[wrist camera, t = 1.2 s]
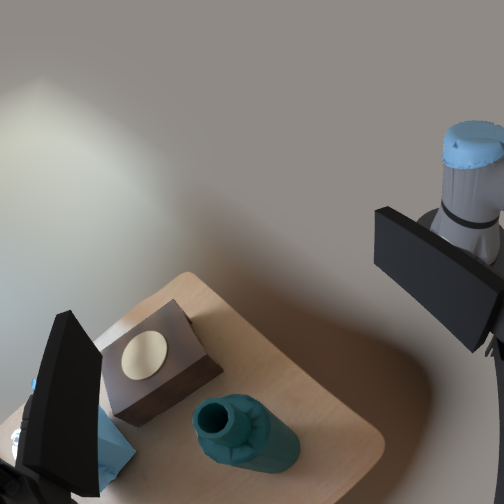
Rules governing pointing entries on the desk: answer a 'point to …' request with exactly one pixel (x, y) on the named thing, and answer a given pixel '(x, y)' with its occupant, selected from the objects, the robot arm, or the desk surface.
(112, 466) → the teapot
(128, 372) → the dark brown wooden block
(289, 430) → the bottle
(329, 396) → the desk surface
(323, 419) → the desk surface
